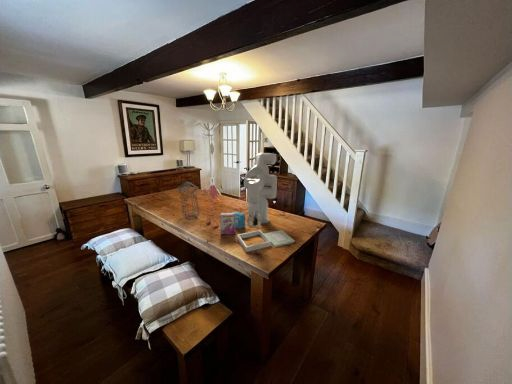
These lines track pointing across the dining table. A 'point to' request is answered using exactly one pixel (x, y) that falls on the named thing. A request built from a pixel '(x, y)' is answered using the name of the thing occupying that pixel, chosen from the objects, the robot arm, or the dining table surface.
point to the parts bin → (256, 246)
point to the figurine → (213, 193)
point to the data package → (239, 220)
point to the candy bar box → (227, 223)
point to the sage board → (279, 238)
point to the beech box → (250, 221)
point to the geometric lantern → (189, 197)
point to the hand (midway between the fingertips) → (253, 223)
